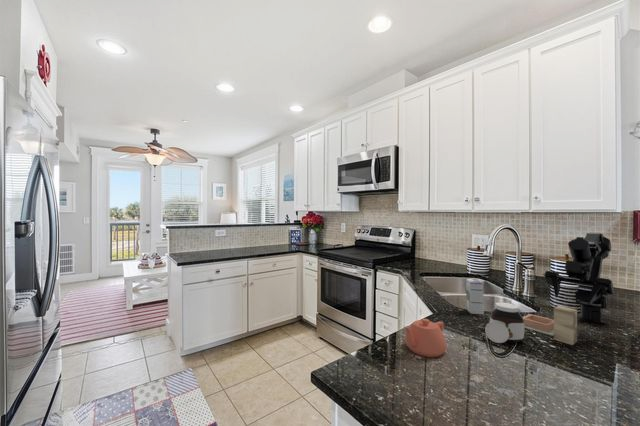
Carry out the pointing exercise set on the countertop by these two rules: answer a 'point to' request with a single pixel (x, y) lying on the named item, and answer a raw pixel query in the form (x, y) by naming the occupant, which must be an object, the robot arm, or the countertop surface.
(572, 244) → the robot arm
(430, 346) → the teapot
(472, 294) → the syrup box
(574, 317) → the maple peg
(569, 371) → the countertop surface
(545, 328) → the pink rectangular tray
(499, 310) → the spread jar
